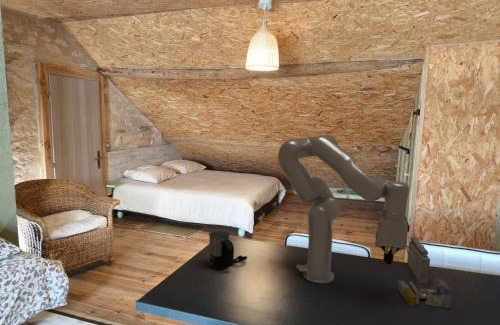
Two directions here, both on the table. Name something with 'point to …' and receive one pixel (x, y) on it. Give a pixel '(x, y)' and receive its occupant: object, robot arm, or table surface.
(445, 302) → the grey u-shaped bracket
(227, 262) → the milk frother
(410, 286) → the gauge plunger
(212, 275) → the table surface
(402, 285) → the medication box
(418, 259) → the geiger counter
